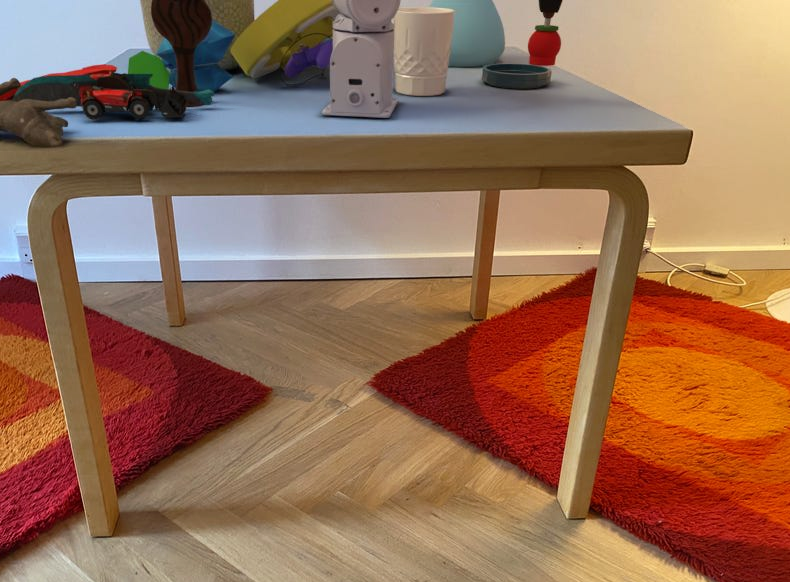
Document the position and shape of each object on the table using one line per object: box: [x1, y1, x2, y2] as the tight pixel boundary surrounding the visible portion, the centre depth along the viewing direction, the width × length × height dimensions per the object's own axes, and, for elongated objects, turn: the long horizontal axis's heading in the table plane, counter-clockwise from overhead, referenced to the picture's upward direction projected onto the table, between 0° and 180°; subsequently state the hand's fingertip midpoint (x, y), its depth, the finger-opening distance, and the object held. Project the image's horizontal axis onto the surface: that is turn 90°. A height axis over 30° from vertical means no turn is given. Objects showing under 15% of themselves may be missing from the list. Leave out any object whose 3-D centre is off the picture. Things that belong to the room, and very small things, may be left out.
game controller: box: [279, 33, 333, 87], centre depth 97 cm, size 10×8×10 cm
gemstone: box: [127, 50, 171, 89], centre depth 92 cm, size 6×6×6 cm
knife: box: [12, 74, 215, 107], centre depth 83 cm, size 24×1×5 cm, turn 97°
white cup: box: [393, 6, 455, 97], centre depth 93 cm, size 8×8×10 cm
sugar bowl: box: [428, 0, 506, 68], centre depth 115 cm, size 15×15×12 cm
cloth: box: [0, 63, 118, 102], centre depth 92 cm, size 26×14×2 cm, turn 175°
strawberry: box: [527, 12, 562, 67], centre depth 85 cm, size 4×4×11 cm
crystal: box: [156, 20, 236, 92], centre depth 93 cm, size 7×9×12 cm
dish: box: [481, 62, 553, 90], centre depth 101 cm, size 10×10×2 cm
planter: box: [139, 0, 256, 72], centre depth 105 cm, size 17×17×15 cm
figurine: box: [151, 0, 212, 108], centre depth 84 cm, size 7×5×18 cm
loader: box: [73, 72, 187, 121], centre depth 80 cm, size 12×5×5 cm, turn 94°
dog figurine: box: [0, 77, 78, 148], centre depth 72 cm, size 12×6×7 cm
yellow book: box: [231, 0, 339, 79], centre depth 100 cm, size 16×21×5 cm
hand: (548, 11), depth 85 cm, fingers closed on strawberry
